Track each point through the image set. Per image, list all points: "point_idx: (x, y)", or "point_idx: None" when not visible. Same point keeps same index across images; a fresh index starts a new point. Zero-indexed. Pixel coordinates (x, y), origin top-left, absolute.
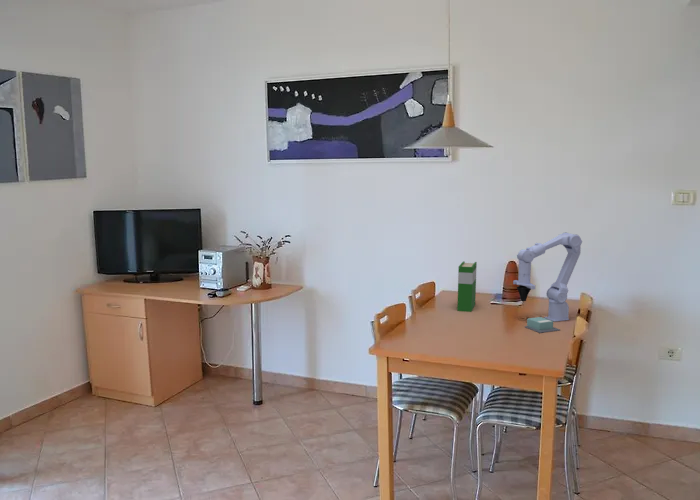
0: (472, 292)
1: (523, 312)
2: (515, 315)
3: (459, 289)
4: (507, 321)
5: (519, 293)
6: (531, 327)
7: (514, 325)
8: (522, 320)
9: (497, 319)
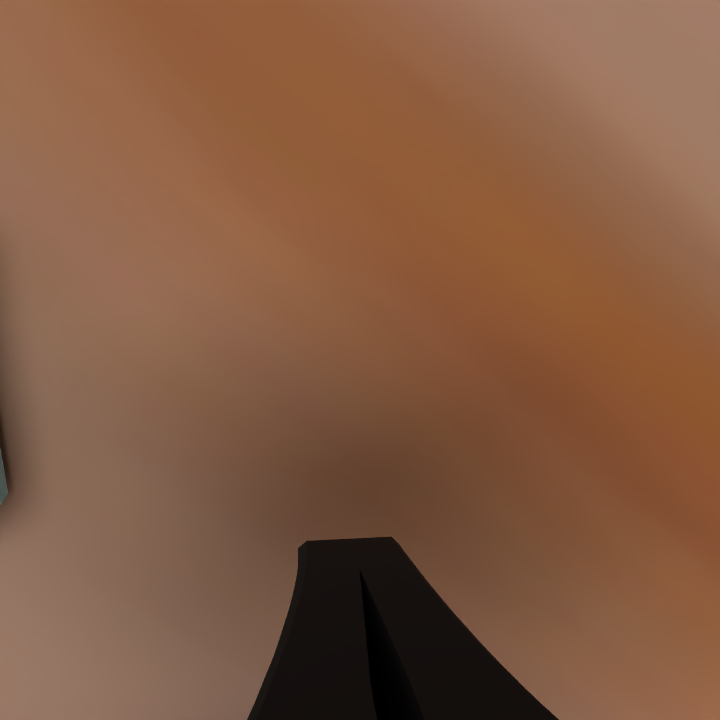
0: None
1: (691, 647)
2: (639, 467)
3: None
4: (415, 93)
5: (528, 716)
6: None
7: (107, 14)
8: (356, 388)
9: (616, 5)
